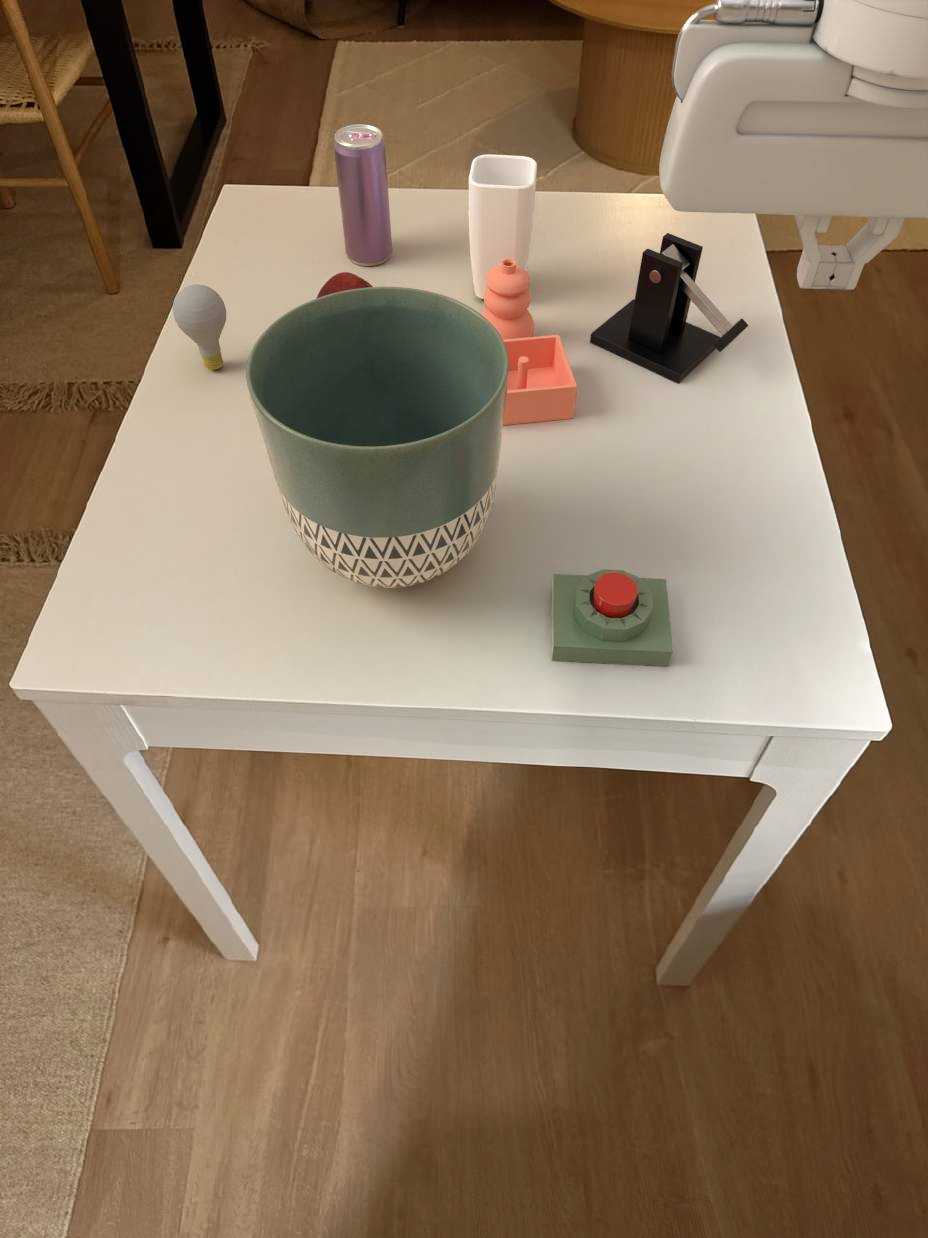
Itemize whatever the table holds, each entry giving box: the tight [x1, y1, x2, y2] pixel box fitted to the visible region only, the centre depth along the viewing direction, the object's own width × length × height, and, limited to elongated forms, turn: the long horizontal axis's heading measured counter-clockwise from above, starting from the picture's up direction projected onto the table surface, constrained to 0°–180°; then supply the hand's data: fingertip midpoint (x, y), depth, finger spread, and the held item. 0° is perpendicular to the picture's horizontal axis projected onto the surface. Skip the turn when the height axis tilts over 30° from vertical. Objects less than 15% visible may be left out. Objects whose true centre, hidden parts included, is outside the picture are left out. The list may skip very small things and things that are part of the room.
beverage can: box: [333, 123, 393, 267], centre depth 110 cm, size 6×6×15 cm
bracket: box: [589, 232, 722, 384], centre depth 100 cm, size 12×9×12 cm
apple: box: [315, 271, 374, 299], centre depth 102 cm, size 7×8×8 cm
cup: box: [468, 153, 538, 301], centre depth 105 cm, size 7×7×15 cm
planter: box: [245, 286, 509, 589], centre depth 76 cm, size 20×20×21 cm
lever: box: [661, 244, 749, 353], centre depth 97 cm, size 12×5×2 cm, turn 50°
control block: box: [551, 568, 674, 667], centre depth 78 cm, size 10×8×4 cm
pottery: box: [480, 259, 578, 426], centre depth 97 cm, size 18×10×10 cm, turn 8°
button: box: [593, 572, 638, 617], centre depth 76 cm, size 4×4×2 cm
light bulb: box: [172, 283, 227, 370], centre depth 98 cm, size 6×6×10 cm
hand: (824, 283), depth 50 cm, fingers closed
